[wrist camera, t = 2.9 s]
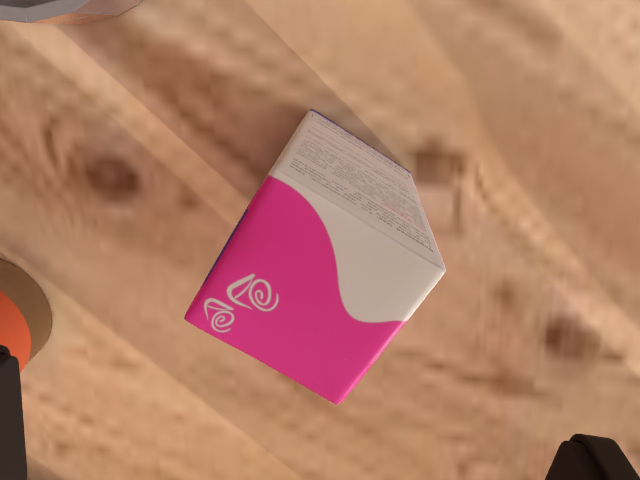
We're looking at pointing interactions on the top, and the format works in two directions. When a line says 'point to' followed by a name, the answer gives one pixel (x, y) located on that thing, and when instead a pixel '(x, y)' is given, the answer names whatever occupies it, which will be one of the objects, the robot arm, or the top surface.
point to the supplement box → (322, 262)
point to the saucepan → (63, 10)
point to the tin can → (22, 314)
